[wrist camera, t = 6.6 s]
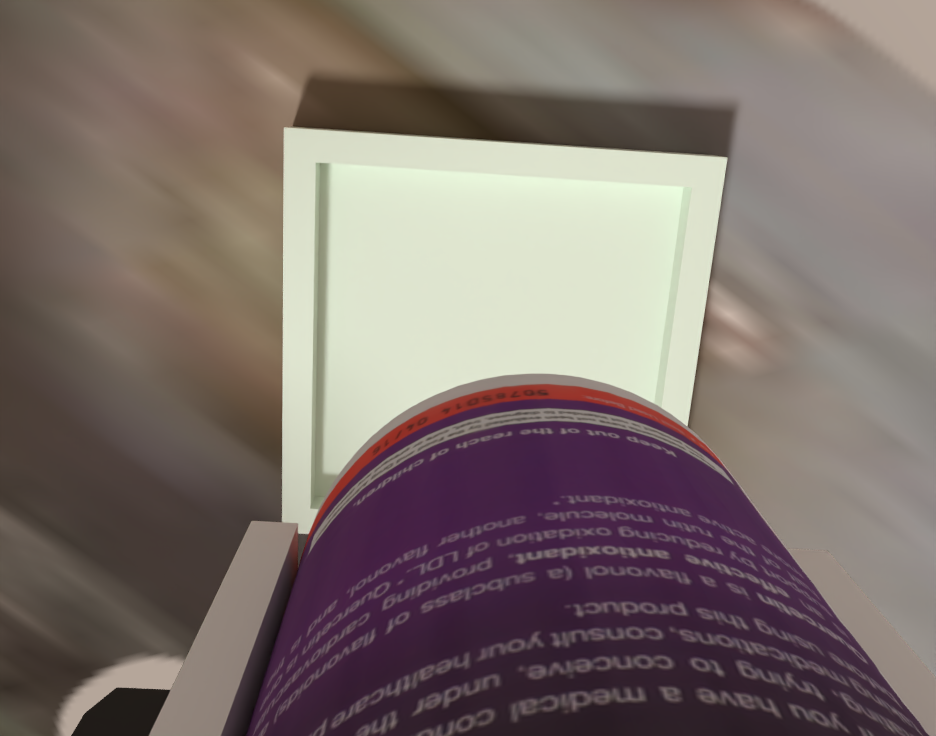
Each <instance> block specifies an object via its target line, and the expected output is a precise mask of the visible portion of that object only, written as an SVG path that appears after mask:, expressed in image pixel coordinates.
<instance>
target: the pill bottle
mask: <svg viewBox="0 0 936 736" xmlns="http://www.w3.org/2000/svg"><path fill="white" fill-rule="evenodd" d="M246 736H930V734H929V733H928V732H927V731H926V729H925V728H924V727H923V725H922V724H921V723H920V722H919V720H918V719H917V718H916V717H915V715H914V714H913V713H912V711H911V710H910V709H909V708H908V706H907V705H906V704H905V703H904V701H903V700H902V699H901V698H900V696H899V695H898V694H897V692H896V691H895V690H894V688H893V687H892V686H891V685H890V683H889V682H888V681H887V679H886V678H885V677H884V675H883V674H882V673H881V671H880V670H879V669H878V668H877V666H876V665H875V664H874V662H873V661H872V660H871V658H870V657H869V656H868V655H867V653H866V652H865V651H864V649H863V648H862V647H861V645H860V644H859V643H858V641H857V640H856V639H855V638H854V636H853V635H852V634H851V632H850V631H849V630H848V628H847V627H846V626H845V624H844V623H843V622H842V620H841V619H840V618H839V616H838V615H837V614H836V612H835V611H834V610H833V608H832V607H831V606H830V604H829V603H828V602H827V600H826V599H825V598H824V596H823V595H822V594H821V593H820V591H819V590H818V589H817V587H816V586H815V585H814V583H813V582H812V581H811V579H810V578H809V577H808V575H807V574H806V573H805V571H804V570H803V569H802V567H801V566H800V565H799V563H798V562H797V561H796V559H795V558H794V557H793V555H792V554H791V553H790V551H789V550H788V549H787V547H786V546H785V545H784V543H783V542H782V541H781V539H780V538H779V537H778V535H777V534H776V533H775V531H774V530H773V529H772V527H771V526H770V525H769V523H768V522H767V521H766V519H765V518H764V517H763V516H762V514H761V513H760V512H759V510H758V509H757V508H756V506H755V505H754V504H753V502H752V501H751V500H750V498H749V497H748V495H747V494H746V493H745V491H744V490H743V488H742V487H741V486H740V484H739V483H738V482H737V480H736V479H735V478H734V477H733V475H732V474H731V473H730V471H729V470H728V469H727V467H726V466H725V465H724V463H723V462H722V461H721V460H720V459H719V458H718V457H717V455H716V454H715V453H714V452H713V451H712V450H711V449H710V448H709V447H708V446H707V444H706V443H705V442H704V441H703V440H702V439H701V438H700V437H699V436H698V435H697V434H695V433H694V432H693V431H692V430H691V429H690V428H688V427H687V426H686V425H685V424H683V423H682V422H681V421H680V420H678V419H677V418H676V417H674V416H673V415H672V414H670V413H669V412H667V411H665V410H664V409H662V408H661V407H659V406H658V405H656V404H654V403H652V402H650V401H648V400H646V399H644V398H642V397H640V396H638V395H636V394H634V393H632V392H629V391H626V390H623V389H621V388H618V387H615V386H612V385H610V384H606V383H602V382H598V381H594V380H590V379H586V378H582V377H575V376H568V375H558V374H517V375H503V376H498V377H492V378H487V379H482V380H477V381H474V382H470V383H467V384H463V385H459V386H457V387H454V388H452V389H449V390H447V391H444V392H441V393H439V394H436V395H434V396H432V397H430V398H428V399H426V400H424V401H422V402H420V403H418V404H416V405H414V406H412V407H411V408H409V409H407V410H406V411H404V412H403V413H401V414H400V415H398V416H396V417H395V418H394V419H392V420H391V421H390V422H389V423H387V424H386V425H385V426H384V427H382V428H381V429H380V430H379V431H378V432H376V433H375V434H374V435H373V436H372V437H371V438H370V439H369V440H368V441H367V442H366V443H365V444H364V445H363V446H362V447H361V448H360V449H359V450H358V451H357V452H356V454H355V455H354V456H353V457H352V458H351V459H350V461H349V462H348V463H347V464H346V465H345V467H344V468H343V469H342V471H341V472H340V474H339V475H338V476H337V478H336V479H335V480H334V482H333V483H332V485H331V487H330V489H329V491H328V492H327V494H326V496H325V498H324V499H323V501H322V503H321V505H320V507H319V510H318V512H317V514H316V517H315V519H314V522H313V525H312V527H311V530H310V532H309V535H308V538H307V541H306V544H305V547H304V550H303V554H302V557H301V560H300V564H299V567H298V571H297V574H296V577H295V581H294V584H293V587H292V591H291V594H290V597H289V600H288V603H287V606H286V610H285V613H284V616H283V619H282V622H281V626H280V629H279V632H278V635H277V638H276V641H275V645H274V648H273V651H272V654H271V657H270V660H269V663H268V667H267V670H266V673H265V676H264V679H263V682H262V685H261V688H260V692H259V695H258V698H257V701H256V705H255V708H254V711H253V714H252V718H251V721H250V724H249V727H248V731H247V734H246Z"/></svg>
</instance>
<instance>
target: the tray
mask: <svg viewBox="0 0 936 736" xmlns="http://www.w3.org/2000/svg"><path fill="white" fill-rule="evenodd" d="M726 164H727V157H721V156H716V155H705V154H690V153H675V152H661V151H646V150H631V149H616V148H602V147H587V146H572V145H558V144H543V143H528V142H514V141H499V140H484V139H470V138H455V137H440V136H426V135H411V134H396V133H381V132H367V131H352V130H337V129H323V128H308V127H293V126H292V127H284V210H283V415H282V522H285V523H298V534H309V532H310V530H311V527H312V525H313V522H314V519H315V517H316V514H317V512H318V510H319V507H320V505H321V503H322V501H323V499H324V498H325V496H326V494H327V492H328V491H329V489H330V487H331V485H332V483H333V482H334V480H335V479H336V478H337V476H338V475H339V474H340V472H341V471H342V469H343V468H344V467H345V465H346V464H347V463H348V462H349V461H350V459H351V458H352V457H353V456H354V455H355V454H356V452H357V451H358V450H359V449H360V448H361V447H362V446H363V445H364V444H365V443H366V442H367V441H368V440H369V439H370V438H371V437H372V436H373V435H374V434H375V433H376V432H378V431H379V430H380V429H381V428H382V427H384V426H385V425H386V424H387V423H389V422H390V421H391V420H392V419H394V418H395V417H396V416H398V415H400V414H401V413H403V412H404V411H406V410H407V409H409V408H411V407H412V406H414V405H416V404H418V403H420V402H422V401H424V400H426V399H428V398H430V397H432V396H434V395H436V394H439V393H441V392H444V391H447V390H449V389H452V388H454V387H457V386H459V385H463V384H467V383H470V382H474V381H477V380H482V379H487V378H492V377H498V376H503V375H517V374H558V375H568V376H575V377H582V378H586V379H590V380H594V381H598V382H602V383H606V384H610V385H612V386H615V387H618V388H621V389H623V390H626V391H629V392H632V393H634V394H636V395H638V396H640V397H642V398H644V399H646V400H648V401H650V402H652V403H654V404H656V405H658V406H659V407H661V408H662V409H664V410H665V411H667V412H669V413H670V414H672V415H673V416H674V417H676V418H677V419H678V420H680V421H681V422H682V423H683V424H685V425H686V426H688V419H689V413H690V406H691V399H692V393H693V386H694V379H695V372H696V366H697V359H698V352H699V346H700V339H701V332H702V325H703V319H704V312H705V305H706V299H707V292H708V285H709V278H710V272H711V265H712V258H713V252H714V245H715V238H716V231H717V225H718V218H719V211H720V205H721V198H722V191H723V184H724V178H725V171H726Z"/></svg>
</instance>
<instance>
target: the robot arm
mask: <svg viewBox="0 0 936 736" xmlns="http://www.w3.org/2000/svg"><path fill="white" fill-rule="evenodd" d="M788 550H789V551H790V553H791V554H792V555H793V557H794V558H795V559H796V561H797V562H798V563H799V565H800V566H801V567H802V569H803V570H804V571H805V573H806V574H807V575H808V577H809V578H810V579H811V581H812V582H813V583H814V585H815V586H816V587H817V589H818V590H819V591H820V593H821V594H822V595H823V596H824V598H825V599H826V600H827V602H828V603H829V604H830V606H831V607H832V608H833V610H834V611H835V612H836V614H837V615H838V616H839V618H840V619H841V620H842V622H843V623H844V624H845V626H846V627H847V628H848V630H849V631H850V632H851V634H852V635H853V636H854V638H855V639H856V640H857V641H858V643H859V644H860V645H861V647H862V648H863V649H864V651H865V652H866V653H867V655H868V656H869V657H870V658H871V660H872V661H873V662H874V664H875V665H876V666H877V668H878V669H879V670H880V671H881V673H882V674H883V675H884V677H885V678H886V679H887V681H888V682H889V683H890V685H891V686H892V687H893V688H894V690H895V691H896V692H897V694H898V695H899V696H900V698H901V699H902V700H903V701H904V703H905V704H906V705H907V706H908V708H909V709H910V710H911V711H912V713H913V714H914V715H915V717H916V718H917V719H918V720H919V722H920V723H921V724H922V725H923V727H924V728H925V729H926V731H927V732H928V733H929V734H930V736H936V677H935V676H934V675H933V674H932V673H931V671H930V670H929V669H928V668H927V667H926V666H925V664H924V663H923V662H922V661H921V660H920V659H919V657H918V656H917V655H916V654H915V653H914V651H913V650H912V649H911V648H910V647H909V646H908V644H907V643H906V642H905V641H904V640H903V639H902V637H901V636H900V635H899V634H898V633H897V631H896V630H895V629H894V628H893V627H892V626H891V624H890V623H889V622H888V621H887V620H886V619H885V617H884V616H883V615H882V614H881V613H880V611H879V610H878V609H877V608H876V607H875V606H874V604H873V603H872V602H871V601H870V600H869V599H868V597H867V596H866V595H865V594H864V593H863V591H862V590H861V589H860V588H859V587H858V586H857V584H856V583H855V582H854V581H853V580H852V579H851V577H850V576H849V575H848V574H847V573H846V571H845V570H844V569H843V568H842V567H841V566H840V564H839V563H838V562H837V561H836V560H835V559H834V557H833V556H832V555H831V554H830V553H829V551H825V550H806V549H788ZM297 571H298V523H285V522H266V521H251V523H250V525H249V527H248V529H247V531H246V533H245V536H244V538H243V540H242V542H241V544H240V546H239V548H238V550H237V552H236V554H235V556H234V559H233V561H232V563H231V565H230V567H229V569H228V571H227V573H226V575H225V577H224V579H223V582H222V584H221V586H220V588H219V590H218V592H217V594H216V596H215V598H214V600H213V602H212V605H211V607H210V609H209V611H208V613H207V615H206V617H205V619H204V621H203V623H202V625H201V628H200V630H199V632H198V634H197V636H196V638H195V640H194V642H193V644H192V646H191V648H190V651H189V653H188V655H187V657H186V659H185V661H184V663H183V665H182V668H181V669H180V671H179V674H178V676H177V678H176V680H175V682H174V684H173V686H172V688H171V690H161V689H159V690H158V689H136V688H116V689H114V690H113V691H112V692H111V693H109V694H108V695H107V696H106V697H104V699H102V700H101V701H100V702H98V703H97V704H96V705H95V706H94V707H92V708H91V709H90V710H88V711H87V712H86V713H85V714H84V715H83V717H82V719H81V721H80V722H79V724H78V726H77V727H76V729H75V731H74V732H73V734H72V735H71V736H246V734H247V731H248V727H249V724H250V721H251V718H252V714H253V711H254V708H255V705H256V701H257V698H258V695H259V692H260V688H261V685H262V682H263V679H264V676H265V673H266V670H267V667H268V663H269V660H270V657H271V654H272V651H273V648H274V645H275V641H276V638H277V635H278V632H279V629H280V626H281V622H282V619H283V616H284V613H285V610H286V606H287V603H288V600H289V597H290V594H291V591H292V587H293V584H294V581H295V577H296V574H297Z"/></svg>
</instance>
